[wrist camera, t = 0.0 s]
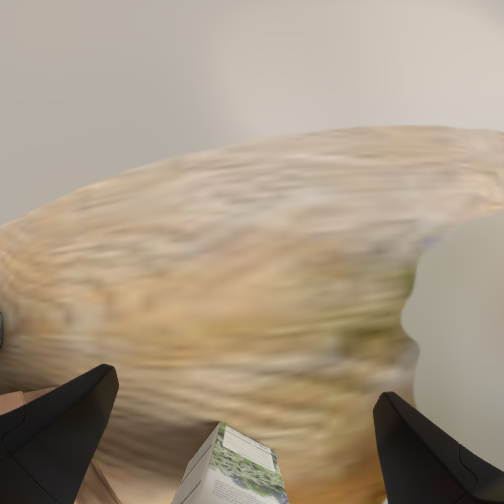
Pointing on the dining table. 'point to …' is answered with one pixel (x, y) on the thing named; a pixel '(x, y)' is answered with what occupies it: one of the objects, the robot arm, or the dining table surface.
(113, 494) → the crate
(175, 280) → the dining table surface
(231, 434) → the syrup box
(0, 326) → the mug
